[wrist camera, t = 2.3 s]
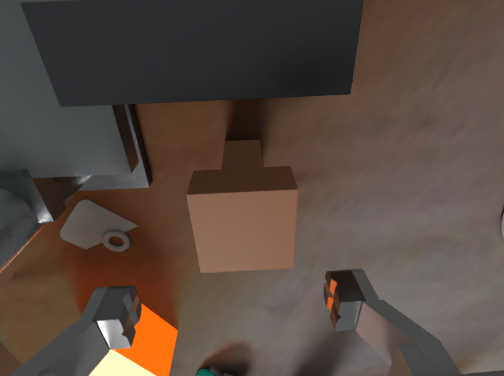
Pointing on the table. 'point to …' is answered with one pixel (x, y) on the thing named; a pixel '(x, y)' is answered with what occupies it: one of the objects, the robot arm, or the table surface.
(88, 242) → the mounting bracket
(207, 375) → the ornament
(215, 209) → the brown block
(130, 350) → the orange juice
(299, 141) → the table surface
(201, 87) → the grey windowed jig
